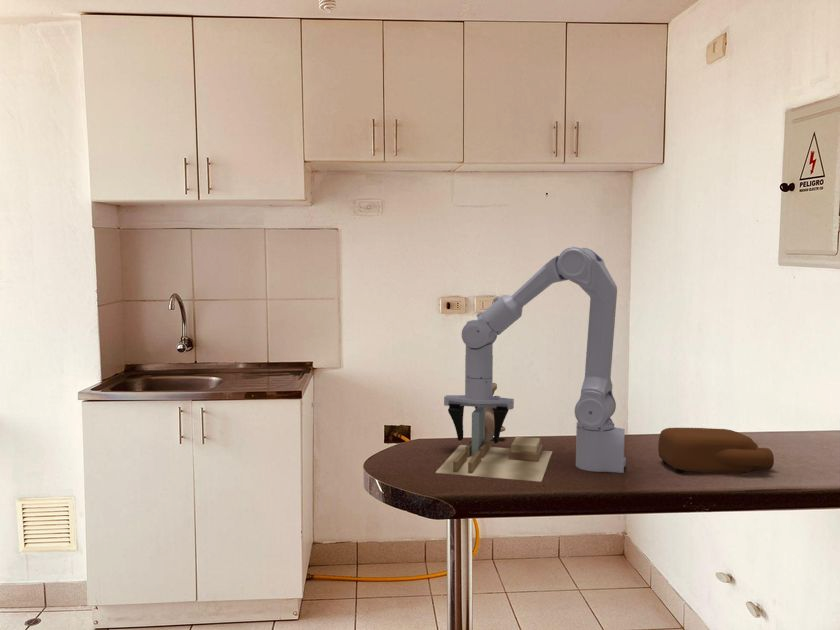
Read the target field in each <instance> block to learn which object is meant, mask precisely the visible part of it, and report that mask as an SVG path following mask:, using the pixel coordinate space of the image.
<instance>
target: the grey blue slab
mask: <svg viewBox="0 0 840 630" xmlns="http://www.w3.org/2000/svg"><path fill="white" fill-rule="evenodd" d="M471 440H472V449H471V456H474V454H475V453H476V452H477V451H479V448H480V447H481V445H482V444H483V443H484V442H485V407H477V408H476V409H474V410H473V412H471Z"/></svg>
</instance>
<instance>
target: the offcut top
mask: <svg viewBox="0 0 840 630" xmlns="http://www.w3.org/2000/svg"><path fill="white" fill-rule="evenodd" d="M540 445H541V438H539V437H524V436H523V437H522V436H515V438H514V440H513V441H512V443H511V446H510V448H511V452H519V453H533V454H536V453H537V451H538V448H539V446H540Z"/></svg>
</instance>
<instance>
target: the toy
mask: <svg viewBox="0 0 840 630" xmlns="http://www.w3.org/2000/svg"><path fill="white" fill-rule="evenodd" d="M657 445H658V446H657V447H658V448H657V449H658V456H659V458H660V459H661V460H662V463H663V464H664V465H666V464H669V465H668V466H670V467H673V468H674V470H675V472H676V473H677V474H684V473H685V472H699V473H723V474H724V473H726V474H745V473H748V472H750V471H752V470H763V471H764V470H769V471H770V470H772V468H773V467H774V463H775V457H774V454H773V451H772V450H771V449H770V448H768V447H759V446H758V444H757V443H756V442H755V441H754V440H753V439H752V438H751V437H750V436H747V435H746V434H743V433H741V432H738V431H736V430H735V431H734V430H732V429H727V428H705V427H667V428H664V429H662V430H661V431H660V433H659V437H658V444H657Z"/></svg>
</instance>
